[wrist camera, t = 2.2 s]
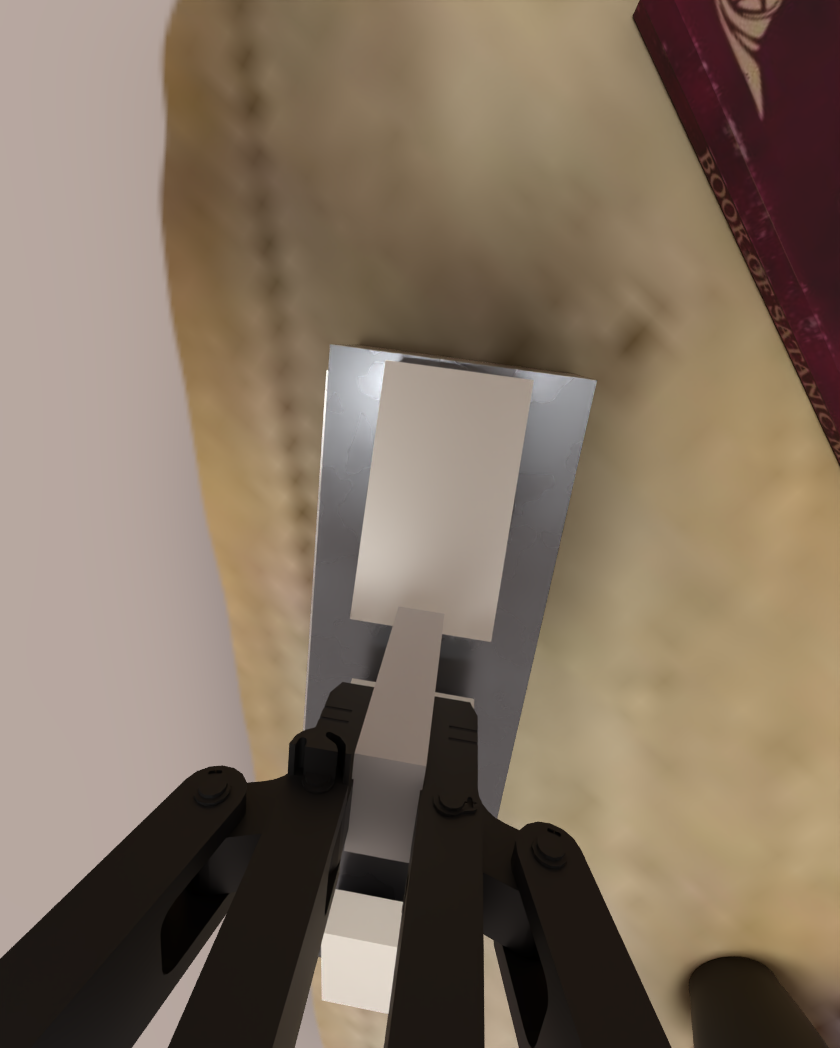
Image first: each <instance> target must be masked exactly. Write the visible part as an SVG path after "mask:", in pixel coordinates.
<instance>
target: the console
mask: <svg viewBox="0 0 840 1048" xmlns="http://www.w3.org/2000/svg"><path fill="white" fill-rule="evenodd" d="M385 360H389V361H397V362H404V363H411V364H419V365H426V366H433V367H441V368H448V369H456V370H463V371H470V372H478V373H485V374H492V375H500V376H507V377H515V378H522V379H529V380H534V382H533V388H532V394H531V400H530V406H529V413H528V419H527V425H526V431H525V437H524V443H523V449H522V456H521V462H520V468H519V474H518V480H517V486H516V498H515V506H514V512H513V518H512V524H511V528H510V533H509V537H508V541H507V548H506V554H505V560H504V566H503V572H502V578H501V584H500V591H499V597H498V603H497V609H496V615H495V621H494V627H493V634H492V640H491V642H488V641H481V640H475V639H469V638H463V637H457V636H451V635H445V634H442V639H441V647H440V656H439V664H438V672H437V681H436V689H435V692H437V693H443V694H449V695H454V696H460V697H466V698H472V699H474V710H475V712H476V714H477V716H478V792H479V797H480V799H481V801H482V804H483V805H484V806H485V808H486V809H487V810H488V812H490V813H491V814H492V815H493V816H494V817H495V818H497V816H498V812H499V808H500V803H501V799H502V795H503V790H504V786H505V781H506V777H507V773H508V768H509V764H510V760H511V755H512V751H513V746H514V742H515V738H516V733H517V729H518V724H519V720H520V716H521V711H522V707H523V703H524V698H525V694H526V689H527V685H528V681H529V676H530V672H531V667H532V663H533V659H534V654H535V650H536V646H537V641H538V637H539V632H540V628H541V624H542V619H543V615H544V611H545V606H546V602H547V597H548V593H549V589H550V584H551V580H552V575H553V571H554V567H555V562H556V558H557V554H558V549H559V545H560V540H561V536H562V532H563V527H564V523H565V518H566V514H567V510H568V505H569V501H570V497H571V492H572V488H573V483H574V479H575V475H576V470H577V466H578V462H579V457H580V453H581V448H582V444H583V440H584V435H585V431H586V426H587V422H588V418H589V413H590V409H591V405H592V400H593V396H594V391H595V387H596V383H597V380H594V379H590V378H587V377H583V376H580V375H576V374H571V373H564V372H556V371H549V370H542V369H534V368H527V367H519V366H512V365H504V364H497V363H489V362H482V361H475V360H467V359H460V358H452V357H445V356H437V355H430V354H422V353H415V352H408V351H400V350H393V349H385V348H378V347H370V346H363V345H337V344H330V354H329V370H327V371H326V385H325V400H324V416H323V431H322V447H321V462H320V478H319V493H318V509H317V524H316V540H315V555H314V571H313V586H312V602H311V617H310V633H309V648H308V664H307V679H306V695H305V710H304V726H303V731H304V730H306V729H310V728H314V727H316V725H317V722H318V720H319V719H320V715H321V713H322V710H323V708H324V707H325V703H326V701H327V699H328V696H329V694H330V692H331V691H332V690H333V689H335V688H336V687H337V686H338V685H339V684H341V683H342V682H347V683H351V681H352V678H355V679H360V680H366V681H372V682H376V680H377V677H378V673H379V670H380V667H381V663H382V660H383V657H384V654H385V650H386V647H387V644H388V640H389V637H390V634H391V630H392V627H393V626H390V625H384V624H378V623H372V622H365V621H359V620H353V619H350V614H351V607H352V600H353V593H354V585H355V578H356V571H357V564H358V556H359V549H360V542H361V535H362V527H363V520H364V513H365V505H366V495H367V488H368V482H369V476H370V469H371V462H372V455H373V447H374V440H375V433H376V426H377V418H378V411H379V404H380V397H381V389H382V382H383V375H384V368H385ZM344 847H345V844H344ZM408 868H409V863H406V862H401V861H395V860H390V859H385V858H379V857H374V856H369V855H364V854H358V853H353V852H348V851H344V848H343V852H342V855H341V861H340V871H339V877H338V881H337V885H336V889H338V890H343V891H348V892H354V893H359V894H364V895H369V896H374V897H380V898H385V899H390V900H395V901H400V902H403V899H404V893H405V887H406V881H407V874H408ZM318 957H321V947H320V951H319V955H318Z"/></svg>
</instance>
